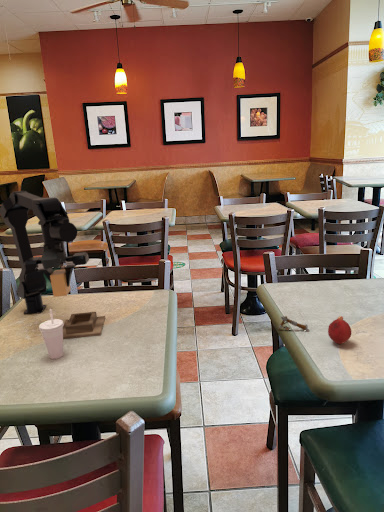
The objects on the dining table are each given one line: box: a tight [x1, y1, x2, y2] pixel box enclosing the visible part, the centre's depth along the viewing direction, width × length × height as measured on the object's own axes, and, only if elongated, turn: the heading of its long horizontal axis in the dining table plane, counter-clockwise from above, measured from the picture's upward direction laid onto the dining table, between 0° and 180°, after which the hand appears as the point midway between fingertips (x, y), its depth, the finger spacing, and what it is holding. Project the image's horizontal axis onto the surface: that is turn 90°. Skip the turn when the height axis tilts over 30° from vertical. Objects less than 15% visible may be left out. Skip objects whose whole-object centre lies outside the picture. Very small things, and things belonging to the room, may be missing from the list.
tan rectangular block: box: [50, 268, 72, 298], centre depth 125 cm, size 6×4×7 cm, turn 5°
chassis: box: [63, 311, 106, 340], centre depth 126 cm, size 13×13×3 cm
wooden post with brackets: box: [278, 315, 309, 331], centre depth 115 cm, size 2×8×4 cm, turn 80°
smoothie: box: [38, 308, 64, 360], centre depth 108 cm, size 6×6×14 cm
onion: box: [327, 315, 352, 345], centre depth 105 cm, size 6×6×8 cm
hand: (61, 287), depth 125 cm, fingers closed on tan rectangular block, 4 cm apart
